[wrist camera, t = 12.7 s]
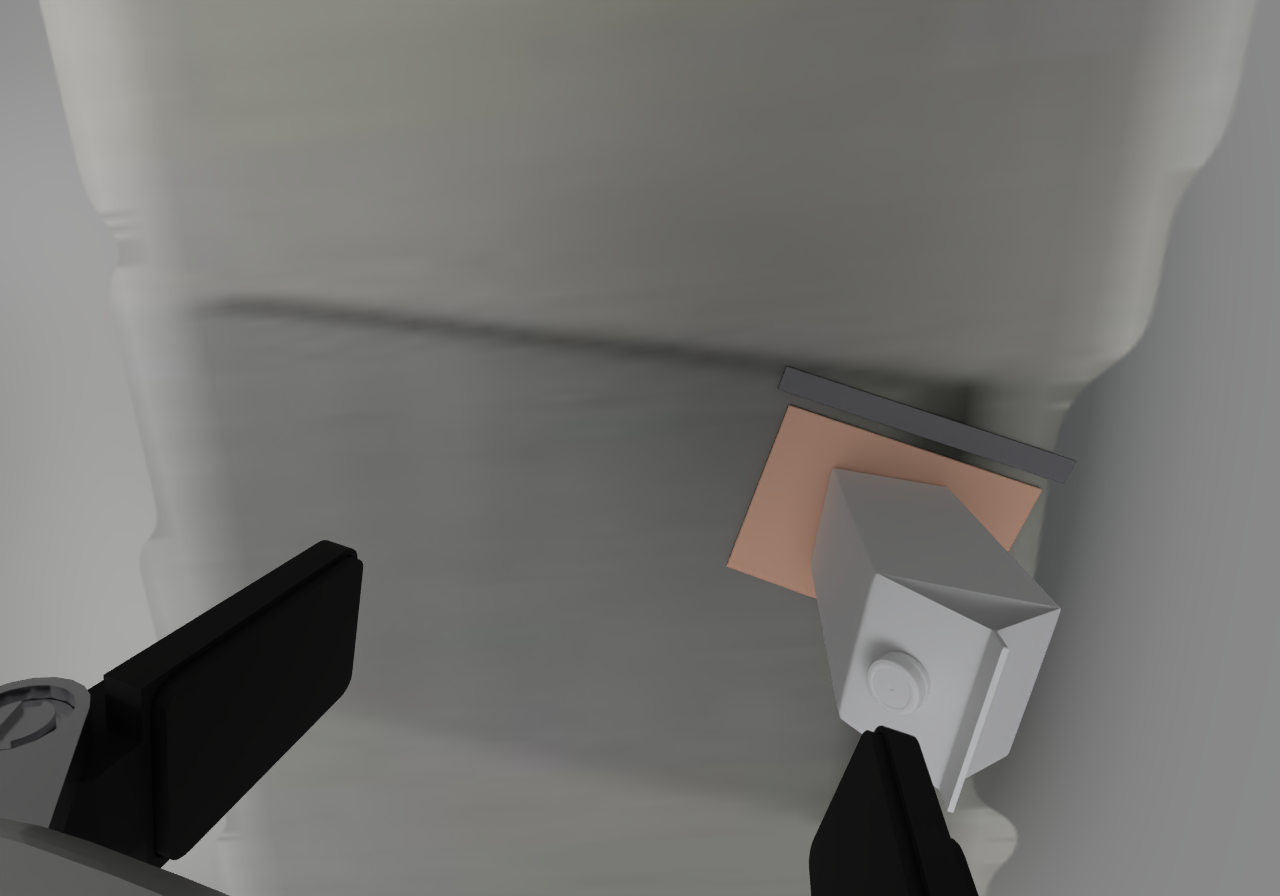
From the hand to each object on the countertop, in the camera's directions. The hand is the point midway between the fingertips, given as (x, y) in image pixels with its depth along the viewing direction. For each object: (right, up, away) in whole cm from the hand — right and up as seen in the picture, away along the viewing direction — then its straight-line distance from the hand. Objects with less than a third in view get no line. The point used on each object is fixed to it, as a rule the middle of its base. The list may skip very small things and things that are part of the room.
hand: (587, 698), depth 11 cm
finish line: (+18, +6, +27) cm, 33 cm away
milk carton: (+16, -1, +29) cm, 33 cm away
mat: (+16, -1, +29) cm, 33 cm away
